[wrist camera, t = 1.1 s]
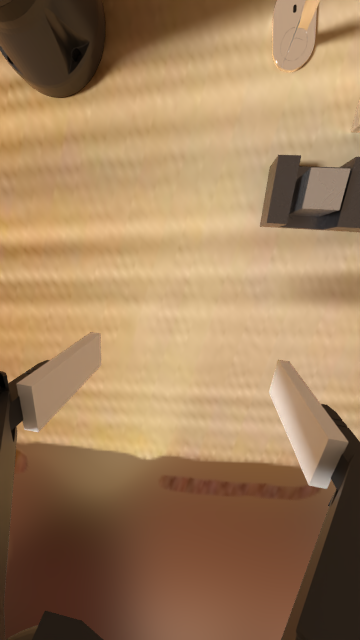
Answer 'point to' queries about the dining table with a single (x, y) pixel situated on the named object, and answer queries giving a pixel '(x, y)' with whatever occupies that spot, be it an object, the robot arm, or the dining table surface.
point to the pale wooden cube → (356, 120)
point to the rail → (354, 211)
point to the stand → (293, 33)
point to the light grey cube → (319, 191)
